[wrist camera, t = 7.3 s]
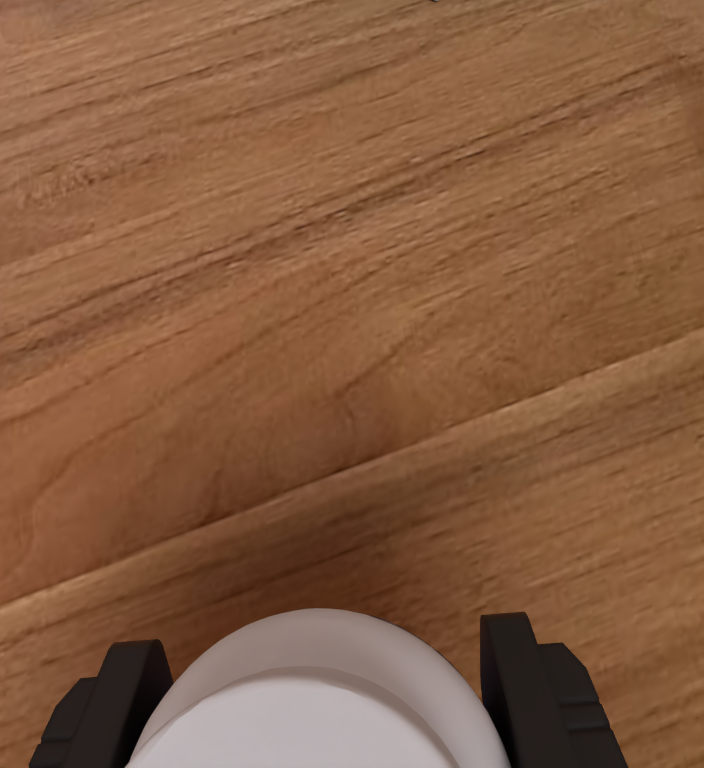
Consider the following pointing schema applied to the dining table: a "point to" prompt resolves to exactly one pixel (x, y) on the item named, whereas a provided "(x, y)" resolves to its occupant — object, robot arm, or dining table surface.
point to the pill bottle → (320, 701)
